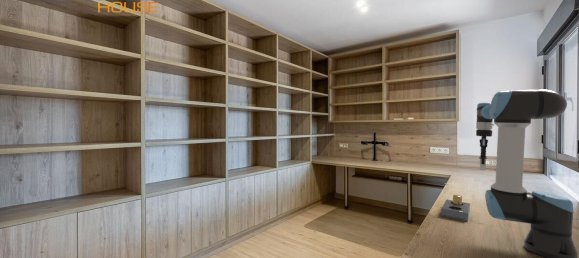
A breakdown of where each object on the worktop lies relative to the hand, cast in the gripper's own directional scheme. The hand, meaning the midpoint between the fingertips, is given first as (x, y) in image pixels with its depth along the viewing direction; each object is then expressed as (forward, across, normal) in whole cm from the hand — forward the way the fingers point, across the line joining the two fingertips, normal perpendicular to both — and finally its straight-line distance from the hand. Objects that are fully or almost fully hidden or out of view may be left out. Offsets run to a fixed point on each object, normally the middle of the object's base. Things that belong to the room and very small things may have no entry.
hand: (482, 169), depth 152 cm
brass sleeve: (+24, -10, +11) cm, 29 cm away
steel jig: (+24, -15, +11) cm, 31 cm away
